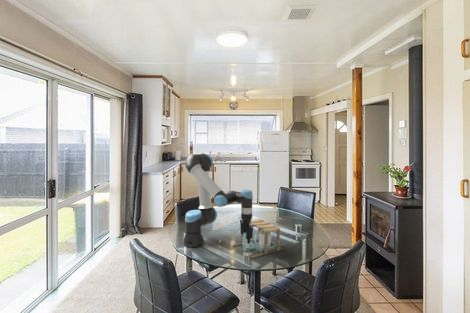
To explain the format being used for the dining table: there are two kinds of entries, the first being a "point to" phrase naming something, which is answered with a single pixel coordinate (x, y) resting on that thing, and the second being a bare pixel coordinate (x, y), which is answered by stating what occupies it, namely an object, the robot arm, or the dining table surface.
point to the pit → (279, 242)
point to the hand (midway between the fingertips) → (246, 246)
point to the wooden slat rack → (266, 228)
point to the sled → (254, 246)
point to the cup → (262, 238)
